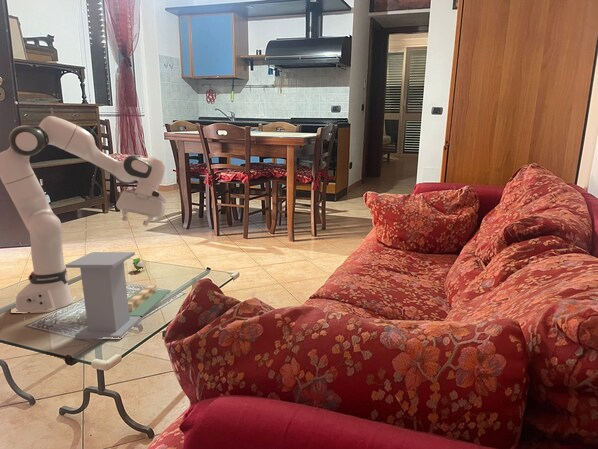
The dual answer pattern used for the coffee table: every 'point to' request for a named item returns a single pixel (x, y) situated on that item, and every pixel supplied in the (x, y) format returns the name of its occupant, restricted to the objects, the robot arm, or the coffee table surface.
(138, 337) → the coffee table surface
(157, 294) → the mat
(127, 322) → the pedestal
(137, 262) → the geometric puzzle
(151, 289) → the checkered wooden bar
